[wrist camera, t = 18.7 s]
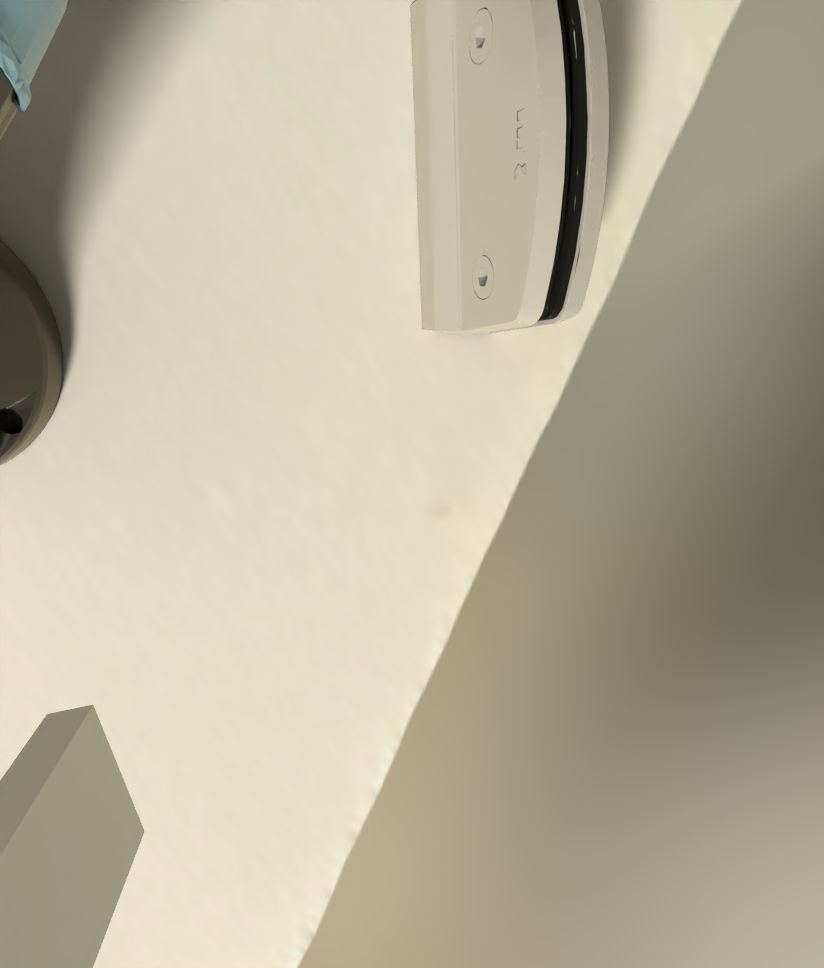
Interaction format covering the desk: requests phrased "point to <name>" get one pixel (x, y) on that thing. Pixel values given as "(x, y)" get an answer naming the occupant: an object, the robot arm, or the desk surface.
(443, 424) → the desk surface
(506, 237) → the white curved block
